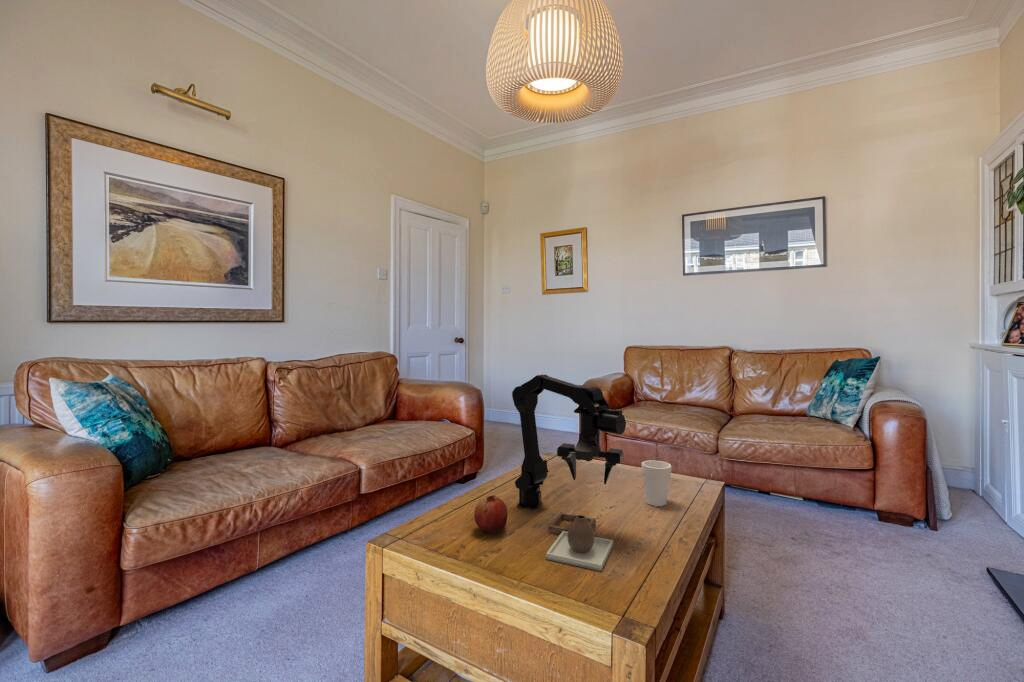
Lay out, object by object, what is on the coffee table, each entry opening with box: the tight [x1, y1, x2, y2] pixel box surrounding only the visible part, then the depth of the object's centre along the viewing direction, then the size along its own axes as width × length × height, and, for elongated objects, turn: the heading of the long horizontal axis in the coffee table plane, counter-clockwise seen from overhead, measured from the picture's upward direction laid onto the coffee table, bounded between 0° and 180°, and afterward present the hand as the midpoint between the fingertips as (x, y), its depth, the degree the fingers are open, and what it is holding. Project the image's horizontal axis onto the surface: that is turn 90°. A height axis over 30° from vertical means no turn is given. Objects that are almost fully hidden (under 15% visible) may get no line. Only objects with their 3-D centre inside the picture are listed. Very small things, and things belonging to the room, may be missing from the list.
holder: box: [548, 511, 597, 536], centre depth 132 cm, size 11×11×2 cm
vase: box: [567, 514, 595, 554], centre depth 117 cm, size 7×7×9 cm
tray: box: [545, 531, 614, 572], centre depth 117 cm, size 14×14×2 cm
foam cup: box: [641, 459, 672, 507], centre depth 151 cm, size 10×9×13 cm
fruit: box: [473, 495, 509, 533], centre depth 130 cm, size 11×10×10 cm
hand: (589, 481), depth 133 cm, fingers open, 9 cm apart
